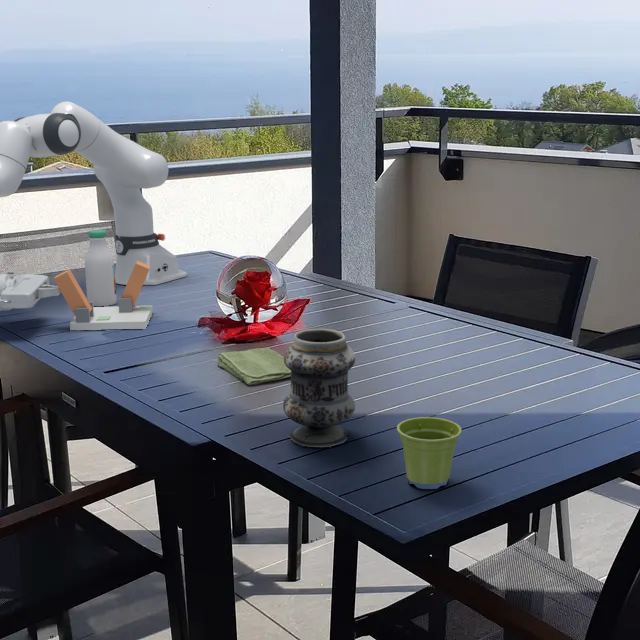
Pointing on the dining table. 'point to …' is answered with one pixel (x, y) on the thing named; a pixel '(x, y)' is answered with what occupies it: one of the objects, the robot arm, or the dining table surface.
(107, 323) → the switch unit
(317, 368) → the apothecary jar
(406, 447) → the plant pot
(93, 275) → the milk bottle
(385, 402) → the dining table surface
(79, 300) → the lever
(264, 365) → the washcloth
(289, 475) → the dining table surface
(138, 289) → the lever
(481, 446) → the dining table surface
